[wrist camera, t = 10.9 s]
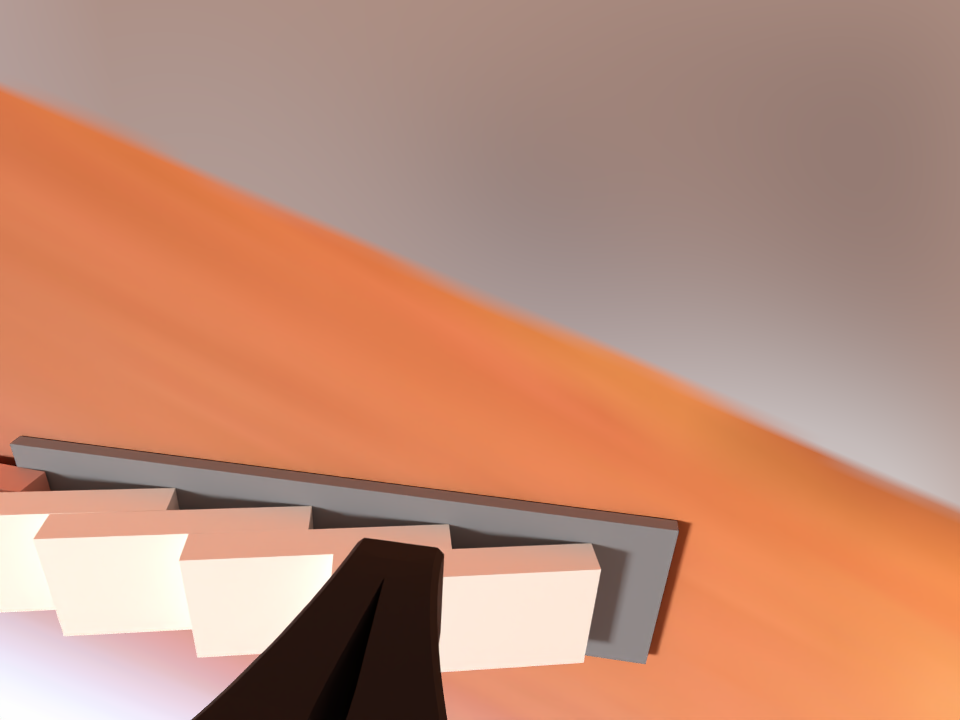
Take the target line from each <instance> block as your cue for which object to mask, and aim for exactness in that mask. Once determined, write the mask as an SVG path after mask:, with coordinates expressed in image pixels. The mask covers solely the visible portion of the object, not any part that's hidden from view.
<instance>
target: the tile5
mask: <svg viewBox="0 0 960 720" xmlns="http://www.w3.org/2000/svg"><path fill="white" fill-rule="evenodd" d="M34 491H51V490H50V487H49V483H48V480H47V477H46V473H45V472H43V471H38V470H33V469H27V468H22V467H17V466H11V465H6V464H1V463H0V492H34Z"/></svg>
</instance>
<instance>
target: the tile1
mask: <svg viewBox="0 0 960 720" xmlns="http://www.w3.org/2000/svg"><path fill="white" fill-rule="evenodd" d="M441 551H442V552H443V553H444V571H443V593H442V614H441V634H440V640H439V655H440V668H441V672H450V671H465V670H480V669H495V668H510V667H525V666H540V665H555V664H570V663H584V657H585V652H586V647H587V641H588V636H589V631H590V626H591V620H592V615H593V610H594V604H595V599H596V594H597V589H598V583H599V578H600V573H601V568H600V565H599V562H598V560H597V557H596V554H595V552H594V549H593V547H592V544H591V543H584V544H561V545H537V546H514V547H490V548H467V549H444V550H441ZM347 556H348V554H333V562H332V573H331V576H332V575H333V573H334V572H335V571H336V570H337V568H338V567H339V566H340V565H341V563H342V562H343V561H344V560H345V558H346V557H347Z"/></svg>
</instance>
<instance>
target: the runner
mask: <svg viewBox="0 0 960 720" xmlns="http://www.w3.org/2000/svg"><path fill="white" fill-rule="evenodd" d="M10 446H11V449H12V452H13V455H14V459H15V462H16V465H17V467H22V468H27V469H33V470H38V471H43V472H45V473H46V477H47V480H48V483H49V487H50V490H51V491H74V490H113V489H153V488H176V494H177V499H178V505H179V510H195V509H228V508H260V507H292V506H312V517H313V529H335V528H362V527H388V526H415V525H441V524H449V529H450V537H451V545H452V549H467V548H490V547H514V546H537V545H561V544H584V543H591V544H592V547H593V549H594V552H595V554H596V557H597V560H598V562H599V565H600V568H601V573H600V578H599V583H598V589H597V594H596V599H595V604H594V610H593V615H592V620H591V626H590V631H589V636H588V641H587V647H586V652H585V655H587V656H594V657H601V658H607V659H614V660H621V661H628V662H635V663H641V664H646V660H647V656H648V652H649V648H650V644H651V640H652V636H653V632H654V628H655V624H656V620H657V616H658V612H659V608H660V604H661V600H662V596H663V592H664V588H665V584H666V580H667V576H668V572H669V568H670V564H671V560H672V556H673V552H674V549H675V545H676V541H677V537H678V533H679V529H678V523H677V521H675V520H667V519H659V518H652V517H644V516H636V515H628V514H621V513H613V512H605V511H597V510H590V509H582V508H574V507H566V506H559V505H551V504H543V503H535V502H528V501H520V500H512V499H504V498H497V497H489V496H481V495H473V494H466V493H458V492H450V491H442V490H435V489H427V488H419V487H411V486H404V485H396V484H388V483H380V482H373V481H365V480H357V479H349V478H341V477H334V476H326V475H318V474H310V473H303V472H295V471H287V470H279V469H272V468H264V467H256V466H248V465H241V464H233V463H225V462H217V461H210V460H202V459H194V458H186V457H179V456H171V455H163V454H155V453H148V452H140V451H132V450H124V449H117V448H109V447H101V446H93V445H86V444H78V443H70V442H62V441H55V440H47V439H39V438H31V437H23V436H19V437H18V438H17V439H15V440H14V441H13V442H12V443H10Z"/></svg>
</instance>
